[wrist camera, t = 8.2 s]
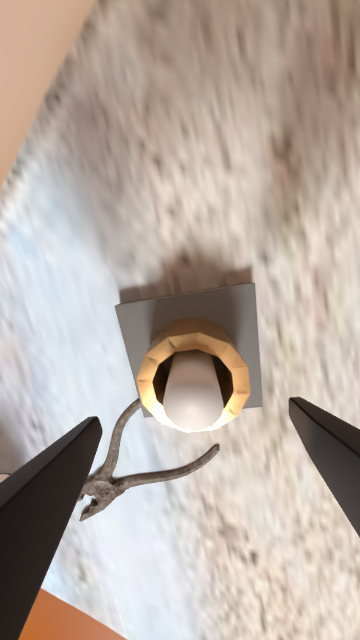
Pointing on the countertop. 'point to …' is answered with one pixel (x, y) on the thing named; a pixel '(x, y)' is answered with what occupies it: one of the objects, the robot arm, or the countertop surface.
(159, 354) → the ring
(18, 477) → the robot arm
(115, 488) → the pliers
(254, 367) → the grey peg stand
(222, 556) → the countertop surface
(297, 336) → the countertop surface
